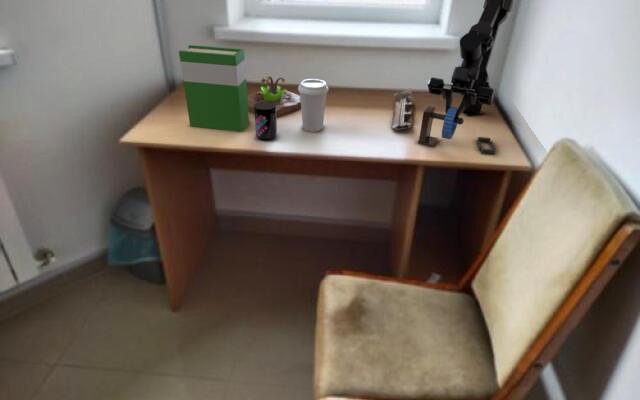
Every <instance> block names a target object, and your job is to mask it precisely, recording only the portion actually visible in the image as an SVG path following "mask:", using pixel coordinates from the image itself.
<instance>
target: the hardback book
mask: <svg viewBox="0 0 640 400" xmlns="http://www.w3.org/2000/svg"><path fill="white" fill-rule="evenodd" d="M187 46H188V49H186V50H179V51H178V56H179V62H180V69H181V75H182V81H183V88H184V95H185V102H186V107H187V115H188V122H189V126H190V127H194V128H204V129H211V130H223V131H231V132H232V131H233V132H241V133H243V131H244V130H245V129H246V127H247V126H248V125H249V124H250V114H249V113H250V111H248V97H247V96H248V85H247V73H246V72H247V71H246V56H245V48H234V47H222V46H221V47H220V46H209V45H208V46H207V45H195V44H189V45H187Z"/></svg>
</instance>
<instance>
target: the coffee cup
mask: <svg viewBox="0 0 640 400" xmlns="http://www.w3.org/2000/svg"><path fill="white" fill-rule="evenodd" d="M297 91H298V92H299V95H300V101H301V107H300V108H301V109H300V111H301V121H302V129H303V130H304V131H305V132H310V133H314V132H315V133H316V132H320V131H322V130H323V128H324V119H325V111H326V102H327V95H328V94H327V93H328V92H329V91H330V89H329V87H328V85H327V82H326V81H325V80H323V79H318V78H307V79H303V80H302V81H300V84H299V85H298V87H297Z"/></svg>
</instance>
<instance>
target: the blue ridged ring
mask: <svg viewBox="0 0 640 400" xmlns="http://www.w3.org/2000/svg"><path fill="white" fill-rule="evenodd" d="M458 108H459V107H454V106H451V107H450V108H449V110H448V111H447V114H446V113H445V115H446V117H445V120H443V124H442V128H441V138H442V139H446V140H449V141H450V140H452V139H453V136H454V135H455V133H456V130H457V127H458V123H454V122H453V121H454V118H455V116H456V113H457V110H458ZM458 118H460V116H459V117H458Z"/></svg>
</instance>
